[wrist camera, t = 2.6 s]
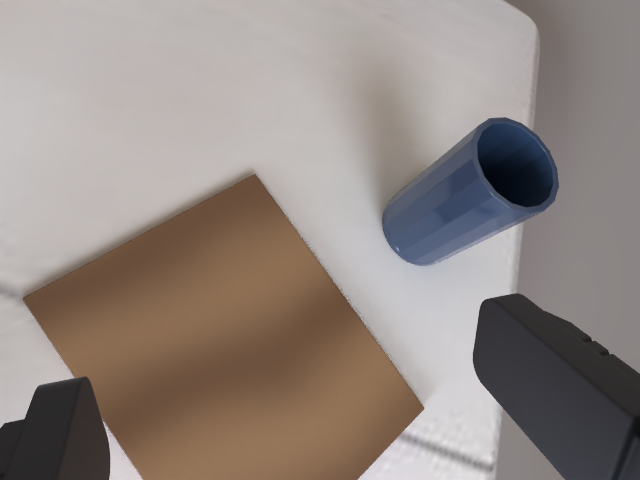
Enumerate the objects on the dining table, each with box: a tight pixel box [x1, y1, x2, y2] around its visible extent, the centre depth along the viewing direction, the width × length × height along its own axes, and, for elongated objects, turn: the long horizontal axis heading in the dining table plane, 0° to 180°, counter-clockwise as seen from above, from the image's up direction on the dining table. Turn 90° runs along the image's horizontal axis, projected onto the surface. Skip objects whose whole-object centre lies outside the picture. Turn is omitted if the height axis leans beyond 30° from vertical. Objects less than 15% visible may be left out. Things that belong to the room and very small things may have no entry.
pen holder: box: [383, 117, 559, 266], centre depth 32 cm, size 6×6×11 cm
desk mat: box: [23, 174, 424, 480], centre depth 29 cm, size 20×16×1 cm
